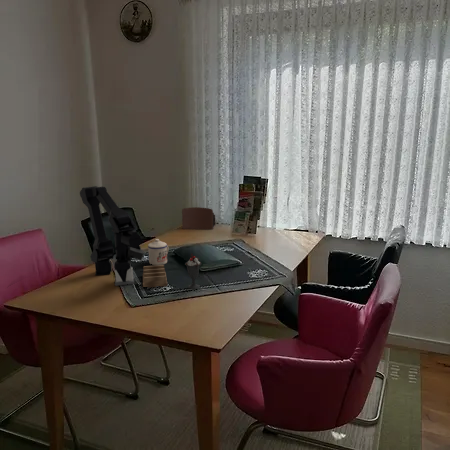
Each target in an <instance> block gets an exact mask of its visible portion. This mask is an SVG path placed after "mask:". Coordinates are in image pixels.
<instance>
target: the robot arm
mask: <svg viewBox="0 0 450 450" xmlns="http://www.w3.org/2000/svg"><path fill="white" fill-rule="evenodd" d="M79 195H80V198H81V200H82V204H83V205H85V206H86V208H87V209H88V213H89V217H90V223H91V227H92V230H93V234H94V242H93V244H92V248H93V251H92V252H91V255H90V256H89V257H90V261H92V262H93V263H94V265H95V267H94V268H95V276H104V275H111V272H112V271H113V266H112V264H113V263H112V261H111V260H112V259H114V253H115V260H116V261H115V262H114V271H115V270H116V271H117V272H118V274H119V276H120V277H121V279H122V281H123V282H126V275H127V270H129V269H131V267H132V266H131V260H132V259H135V260H138V261H142V259H143V256H144V254H145V253H144V250H143V249H142V247H141V244H142V237H141V236H140V234H138V233H137V231H136V227H135V224H134V222H133V220H132V218H131V216H130V215H129V214H128V212H127V211H126V210H125V209H123V208H120V207H119V206H118V205H117V203H116V202H115V201H114V199H113V198H112V196H111V195H110V193H109V192H108V191H107V187H105V186H97V185H94V186H93V185H92V186H86V187H82V188H81V190H79ZM100 204H101V206H102V207H103V209H104V210H105V212H106V213H107V214H108V221H109V224H110V225H111V227H112V229H111V232H113V235H114V236H113V237H114V244H113V241H112V240H111V239H109V238H108V237H107V234H106V230H105V225H104V220H103V216H102V212H101V207H100Z"/></svg>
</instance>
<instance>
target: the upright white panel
mask: <svg viewBox="0 0 450 450" xmlns="http://www.w3.org/2000/svg"><path fill="white" fill-rule="evenodd" d="M114 272H115V273H114V275H115V279H116V282H123V281H122V279H121V277H120V276H119V274H118V272H117V271H116V270H115V269H114ZM133 278H134V271H133V266H131V269H129V270H127V275H126V281H133Z"/></svg>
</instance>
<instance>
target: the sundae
mask: <svg viewBox="0 0 450 450" xmlns="http://www.w3.org/2000/svg"><path fill="white" fill-rule="evenodd" d="M184 265H185V266H186V269H187V275H188V277H189V279H191V284H189V285H187V288H188V289H190V290H196V289H200V284H196V279H197V278H198V277H199V272H200V266H202V262H201V261H200V258H199V257H197V256H195V255H193V254H190V258H189V260H188V261H186V262H184Z"/></svg>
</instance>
